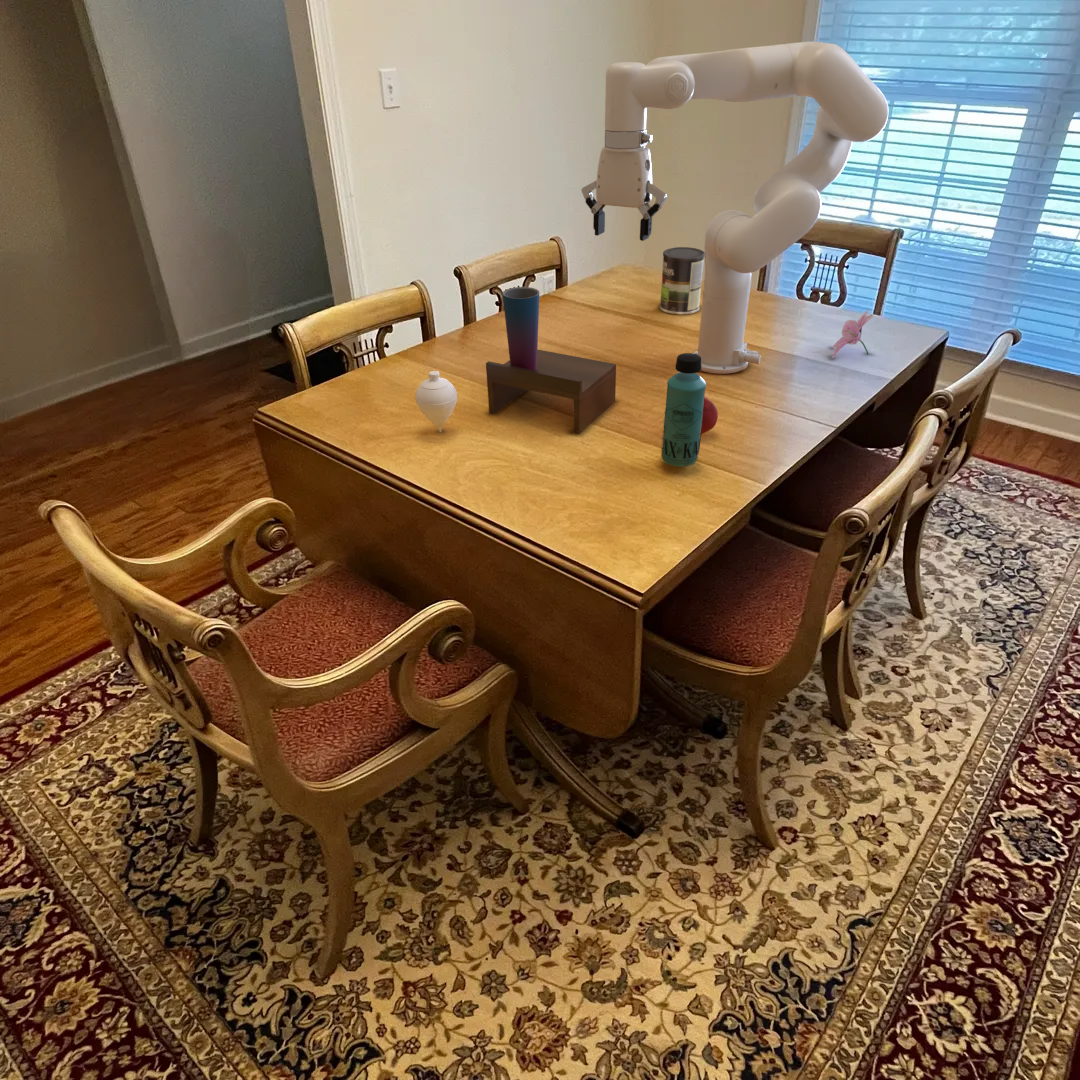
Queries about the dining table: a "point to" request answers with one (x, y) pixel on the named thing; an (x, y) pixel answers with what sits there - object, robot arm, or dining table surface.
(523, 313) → the cup
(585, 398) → the shelf
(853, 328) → the lily
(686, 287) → the coffee can
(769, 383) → the dining table surface
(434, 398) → the spinning top
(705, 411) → the onion
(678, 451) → the beverage bottle
